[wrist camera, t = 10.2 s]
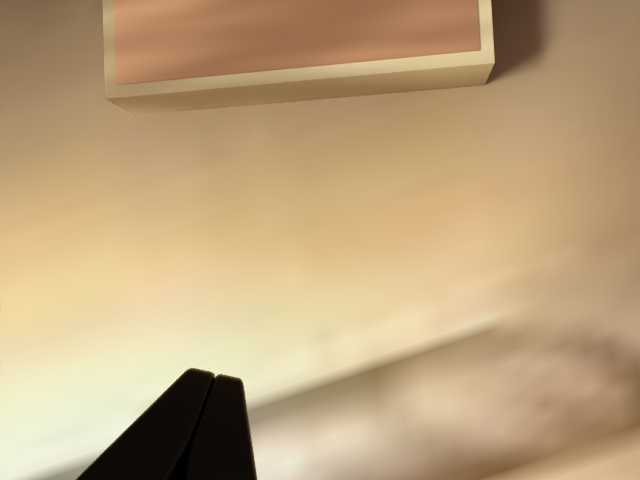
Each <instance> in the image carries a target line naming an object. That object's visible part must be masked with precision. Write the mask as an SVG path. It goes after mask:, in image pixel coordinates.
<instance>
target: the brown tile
mask: <svg viewBox="0 0 640 480" xmlns="http://www.w3.org/2000/svg"><path fill="white" fill-rule="evenodd" d="M103 32H104V74H105V99H107V100H108V101H110V102H112V103H114V104H115V105H117V106H119V107H121V108H123V109H124V110H126V111H128V112H130V113H131V114H133V115H143V114H155V113H167V112H178V111H190V110H202V109H213V108H225V107H237V106H248V105H260V104H272V103H283V102H295V101H307V100H318V99H330V98H341V97H353V96H365V95H376V94H388V93H400V92H411V91H423V90H435V89H446V88H458V87H470V86H481V85H485V83H486V81H487V79H488V76H489V74H490V72H491V70H492V68H493V66H494V64H495V59H494V42H493V26H492V9H491V0H103Z"/></svg>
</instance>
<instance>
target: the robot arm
mask: <svg viewBox="0 0 640 480" xmlns="http://www.w3.org/2000/svg"><path fill="white" fill-rule="evenodd" d="M75 480H257V475H256V468H255V461H254V454H253V447H252V440H251V434H250V427H249V420H248V413H247V406H246V399H245V392H244V385H243V382H242V380H241V379H240V378H236V377H231V376H227V375H222V374H219V375H217V376H216V377H215V375H214V373H212V372H209V371H204V370H200V369H195V368H190V369H188V370H187V371H185V372H184V373H183V374H182V375H181V376H180V377H179V378H178V379H177V380H176V381H175V382H174V383H173V384H172V385H171V386H170V387H169V388H168V389H167V390H166V391H165V392H164V393H163V394H162V395H161V396H160V397H159V398H158V399H157V400H156V401H155V402H154V403H153V404H152V405H151V406H150V407H149V408H148V409H147V410H146V411H145V412H144V413H143V414H142V415H141V416H140V417H139V418H137V419H136V420H135V421H134V422H133V423H132V424H131V425H130V426H129V427H128V428H127V429H126V430H125V431H124V432H123V433H122V434H121V435H120V436H119V437H118V438H117V439H116V440H115V441H114V442H113V443H112V444H111V445H110V446H109V447H108V448H107V449H106V450H105V451H104V452H103V453H102V454H101V455H100V456H99V457H98V458H97V459H96V460H95V461H94V462H93V463H92V464H91V465H90V466H89V467H88V468H87V469H86V470H85V471H84V472H83V473H82V474H81V475H80V476H79V477H78V478H77V479H75Z"/></svg>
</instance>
